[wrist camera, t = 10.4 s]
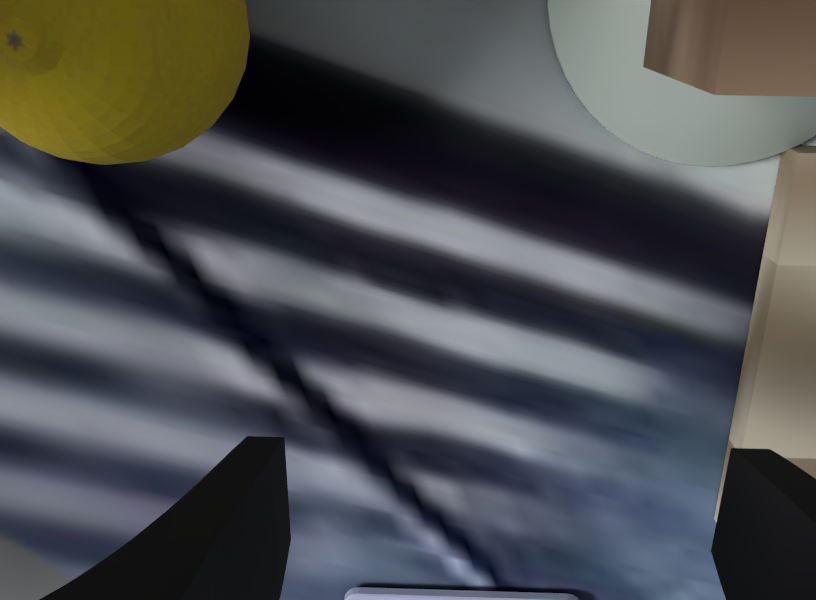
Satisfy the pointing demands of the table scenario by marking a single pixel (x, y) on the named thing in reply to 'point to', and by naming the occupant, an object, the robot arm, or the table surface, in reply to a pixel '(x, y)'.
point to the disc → (665, 93)
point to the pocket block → (783, 327)
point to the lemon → (118, 73)
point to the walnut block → (735, 45)
